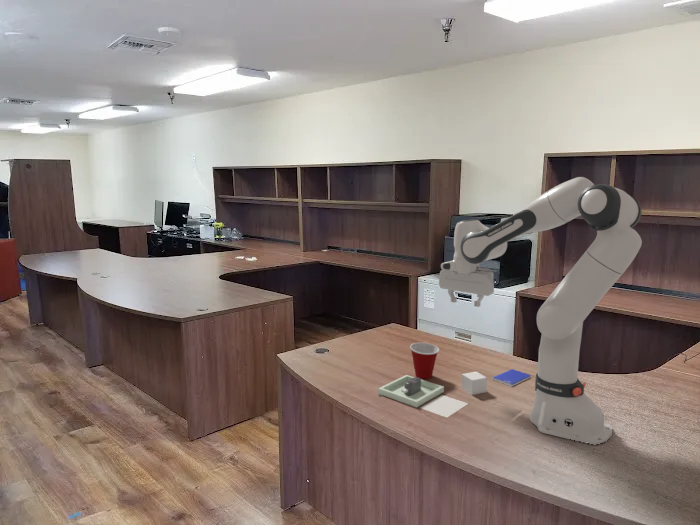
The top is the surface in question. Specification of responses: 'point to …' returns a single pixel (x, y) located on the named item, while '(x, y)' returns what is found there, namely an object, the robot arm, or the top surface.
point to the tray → (415, 400)
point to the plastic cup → (424, 359)
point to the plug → (412, 386)
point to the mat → (444, 406)
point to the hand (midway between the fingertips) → (465, 304)
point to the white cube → (474, 383)
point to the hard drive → (511, 377)
